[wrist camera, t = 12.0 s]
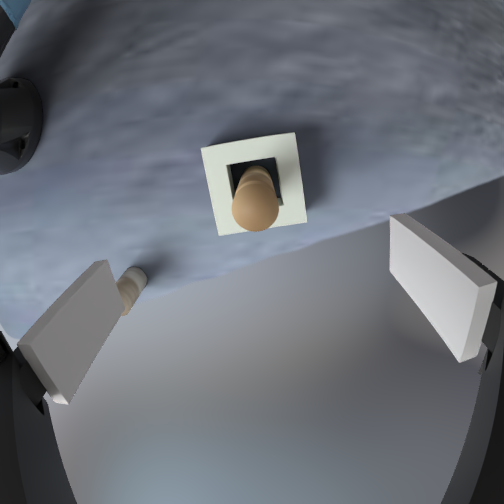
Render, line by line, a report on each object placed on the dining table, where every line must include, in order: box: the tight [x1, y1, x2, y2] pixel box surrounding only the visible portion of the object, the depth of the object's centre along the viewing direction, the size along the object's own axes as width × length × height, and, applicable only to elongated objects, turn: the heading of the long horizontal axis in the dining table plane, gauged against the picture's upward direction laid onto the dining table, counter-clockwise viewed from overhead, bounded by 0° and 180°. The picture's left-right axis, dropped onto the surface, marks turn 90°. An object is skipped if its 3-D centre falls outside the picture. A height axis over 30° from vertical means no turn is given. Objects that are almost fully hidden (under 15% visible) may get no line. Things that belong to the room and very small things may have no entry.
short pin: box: [116, 267, 147, 316], centre depth 38 cm, size 4×4×7 cm
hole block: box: [201, 132, 307, 236], centre depth 34 cm, size 10×10×4 cm
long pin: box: [232, 165, 279, 231], centre depth 30 cm, size 4×4×14 cm
